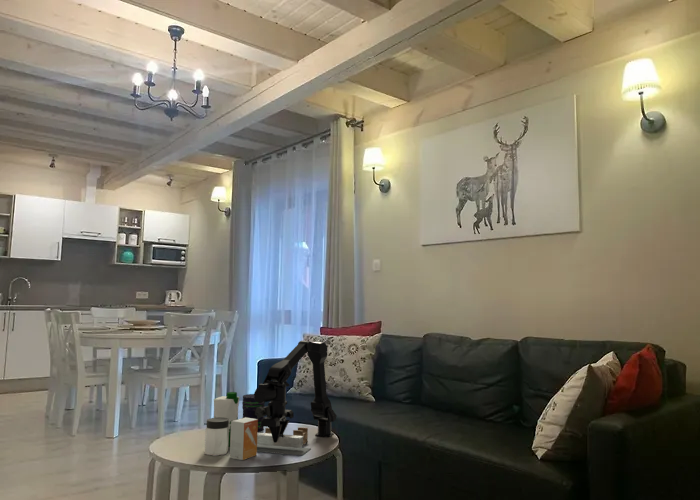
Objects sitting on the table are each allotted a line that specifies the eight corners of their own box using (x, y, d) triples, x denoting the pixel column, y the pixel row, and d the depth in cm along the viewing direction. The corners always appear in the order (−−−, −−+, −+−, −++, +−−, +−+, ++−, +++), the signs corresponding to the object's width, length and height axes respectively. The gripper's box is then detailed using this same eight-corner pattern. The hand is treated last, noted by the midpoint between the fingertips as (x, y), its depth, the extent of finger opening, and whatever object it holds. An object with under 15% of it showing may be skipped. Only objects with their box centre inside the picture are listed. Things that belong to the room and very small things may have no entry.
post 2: (298, 441, 215) (298, 427, 215) (307, 441, 214) (307, 427, 214) (292, 444, 209) (293, 430, 210) (302, 445, 208) (302, 431, 209)
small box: (242, 460, 187) (244, 422, 188) (229, 458, 190) (230, 420, 191) (257, 455, 194) (258, 418, 195) (243, 452, 197) (244, 417, 198)
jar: (208, 457, 191) (209, 422, 192) (201, 451, 198) (202, 418, 199) (232, 453, 196) (233, 420, 197) (224, 448, 203) (225, 416, 204)
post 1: (271, 438, 218) (271, 425, 218) (280, 439, 217) (280, 425, 217) (265, 442, 212) (265, 428, 213) (274, 443, 211) (274, 429, 212)
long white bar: (254, 441, 206) (255, 432, 206) (303, 445, 201) (303, 436, 201) (251, 443, 202) (251, 434, 203) (299, 447, 197) (300, 438, 198)
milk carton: (231, 447, 204) (232, 394, 206) (209, 446, 206) (211, 393, 208) (240, 442, 212) (241, 391, 215) (219, 440, 214) (221, 390, 217)
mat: (253, 444, 209) (253, 443, 209) (310, 449, 202) (310, 448, 202) (242, 450, 200) (242, 449, 200) (302, 455, 194) (302, 454, 194)
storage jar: (248, 427, 239) (249, 393, 241) (268, 428, 236) (268, 394, 238) (237, 431, 230) (238, 396, 232) (256, 433, 227) (257, 398, 228)
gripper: (268, 394, 214) (267, 434, 213) (248, 402, 196) (247, 445, 195) (294, 395, 211) (293, 436, 210) (275, 404, 194) (275, 448, 192)
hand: (277, 441), depth 202 cm, fingers closed on long white bar, 3 cm apart
